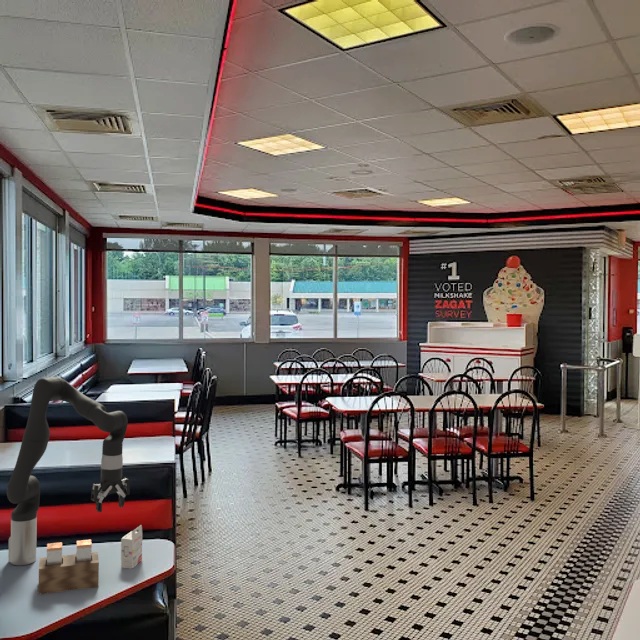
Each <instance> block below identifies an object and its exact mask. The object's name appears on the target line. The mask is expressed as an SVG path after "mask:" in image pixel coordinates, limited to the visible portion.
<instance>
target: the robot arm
mask: <svg viewBox="0 0 640 640" xmlns="http://www.w3.org/2000/svg"><path fill="white" fill-rule="evenodd" d="M31 396H32V397H31V402H30V408H29V409H30V410H29V413H28V418H27V422H26V426H25V430H24V431H23V436H22V441H21V445H20V448H19V452H18V455H17V458H16V462H15V465H14V469H13V471H12V473H11V476H10V478H9V481H8V484H7V488H6V496H7V499H8V501H9V502H10V503H12V504H13V505H15V504H17V506H16V507H15V508H14V509H13V510H12V511H11V514H10V536H9V538H8V557H7V559H8V562H9V563H10V565H13V566H26V565H30V564H32V563H34V562H35V561H36V560H37V533H38V531H37V526H38V525H37V524H38V523H37V522H38V521H37V520H38V512H39V509H40V497H41V486H40V481H39V479H38V478H37V477H36V476H35V475H32V472H33V470H34V468H35V467H36V466H37V464H38V463H39V462H40V460H41V458H42V457H43V456H44V454H45V452H46V451H47V447H48V445H49V441H50V438H51V437H50V436H51V431H50V427H49V423H48V420H47V413H48V412H47V411H48V408H49V405H50V402H55V401H62V402H66V403H68V404H69V405H72V407H73V409H74V410H75V412H76V413H77V414H79V416H81V417H83V418H85V419H86V420H87V421H91V422H92V423H93V424H94V426H96V427H97V428H98V429H99V430H100V431H101V432H104V433H109V434H108V436H107V437H105V438H104V439H103V440H102V448H101V451H102V453H101V454H102V455H101V461H100V483H96V484H95V483H92V485H91V495H90V500H91V501H92V502H94V503H95V510H96V511H97V512H98V513H99V514H100V513H102V511H103V500H104V499H105V498H106V497H107V496H108V495H112V494H117V495H118V507H119V508H123V507H124V506H125V502H126V501H125V499H126V496H129V495H130V493H131V492H130V491H131V490H130V489H131V488H130V486H131V485H130V483H131V481H130V479H129V478H126V477H124V478H123V464H124V463H123V459H124V457H123V447H124V446H123V443H124V440H125V436H126V433H127V429H128V426H129V425H128V424H129V423H128V422H129V421H128V416H127V414H126V413H125V412H124V411H123V410H115V411H111V412H107V407H106V406H104V405H103V404H102V403H100V402H98V401H96V400H95V399H92V398H90V397H89V396H86V395H85V394H84V393H82V392H81V391H80V390H78V389H77V388H75V387H74V386H72V384H71V383H69V382H68V381H67V380H66V379H64V378H62V377H60V376H47V377H42V378H39V379H38V380H37V381H35V383H34V386H33V390H32V395H31ZM122 478H123V479H122ZM122 485H123V489H122V488H121V486H122ZM8 562H7V563H8Z"/></svg>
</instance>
